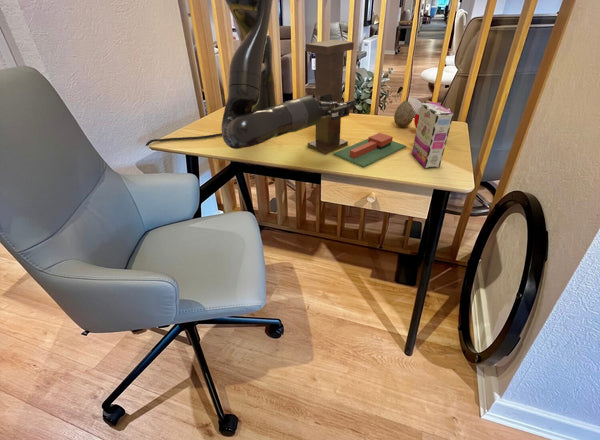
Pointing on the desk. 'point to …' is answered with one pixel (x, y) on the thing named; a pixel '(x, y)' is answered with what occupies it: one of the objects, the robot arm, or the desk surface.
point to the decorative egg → (404, 114)
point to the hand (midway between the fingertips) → (342, 100)
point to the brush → (372, 145)
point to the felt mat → (369, 153)
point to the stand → (328, 90)
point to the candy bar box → (431, 134)
